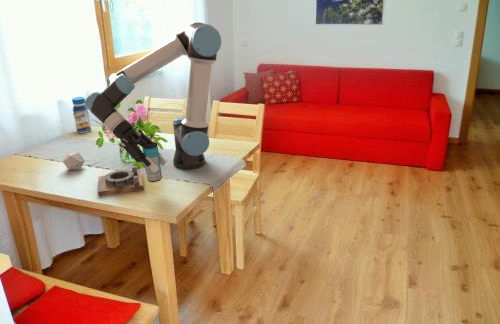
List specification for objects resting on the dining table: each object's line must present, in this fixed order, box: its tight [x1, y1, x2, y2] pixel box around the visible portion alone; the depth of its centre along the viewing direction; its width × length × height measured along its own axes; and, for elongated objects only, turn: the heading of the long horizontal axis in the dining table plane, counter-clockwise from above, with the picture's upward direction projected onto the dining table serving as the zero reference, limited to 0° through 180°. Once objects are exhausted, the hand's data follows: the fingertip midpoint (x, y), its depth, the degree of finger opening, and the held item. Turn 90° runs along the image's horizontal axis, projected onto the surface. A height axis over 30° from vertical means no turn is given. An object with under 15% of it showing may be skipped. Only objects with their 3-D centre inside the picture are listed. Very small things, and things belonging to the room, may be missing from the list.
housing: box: [97, 166, 144, 197], centre depth 177 cm, size 18×16×5 cm
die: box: [62, 152, 86, 171], centre depth 194 cm, size 8×9×10 cm
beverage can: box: [141, 142, 163, 183], centre depth 165 cm, size 6×6×15 cm
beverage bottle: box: [71, 96, 92, 134], centre depth 245 cm, size 8×8×20 cm
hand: (160, 167), depth 164 cm, fingers closed on beverage can, 6 cm apart
